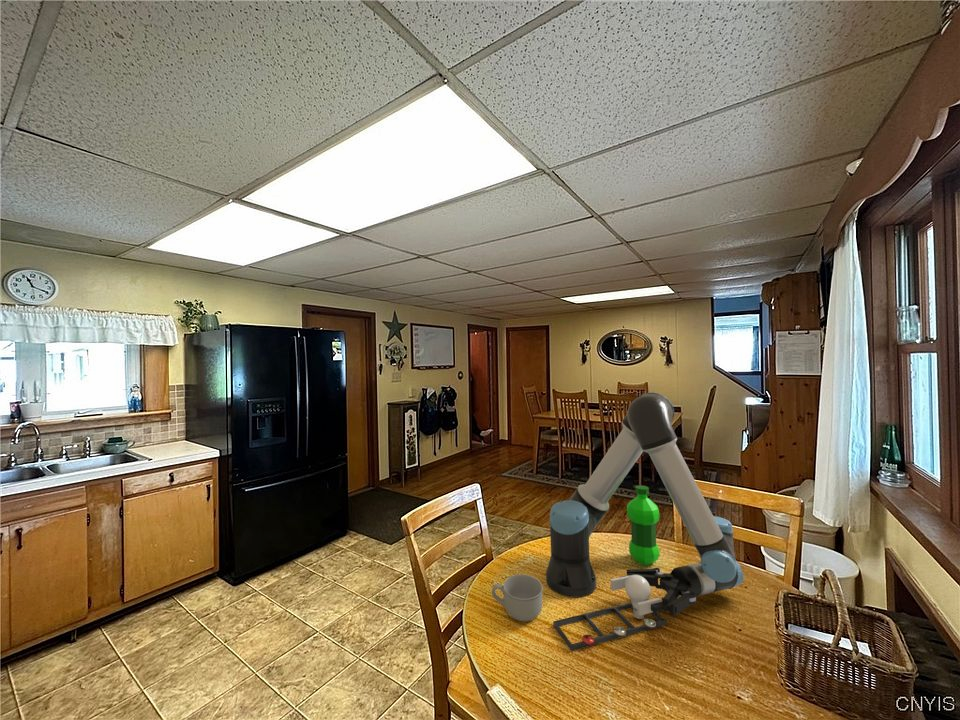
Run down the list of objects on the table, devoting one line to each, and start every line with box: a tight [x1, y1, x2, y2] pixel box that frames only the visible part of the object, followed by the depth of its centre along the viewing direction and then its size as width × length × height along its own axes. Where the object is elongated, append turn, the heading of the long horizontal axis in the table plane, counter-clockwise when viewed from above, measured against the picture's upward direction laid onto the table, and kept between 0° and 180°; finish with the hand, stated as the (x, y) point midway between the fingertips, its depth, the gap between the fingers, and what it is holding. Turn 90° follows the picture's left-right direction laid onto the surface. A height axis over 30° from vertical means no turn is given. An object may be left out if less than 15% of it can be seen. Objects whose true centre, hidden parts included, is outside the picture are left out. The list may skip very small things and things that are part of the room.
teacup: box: [491, 573, 544, 622], centre depth 103 cm, size 14×11×8 cm
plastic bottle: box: [626, 485, 661, 566], centre depth 129 cm, size 10×10×25 cm
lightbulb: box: [624, 575, 652, 620], centre depth 100 cm, size 6×6×11 cm
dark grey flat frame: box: [552, 602, 667, 652], centre depth 97 cm, size 10×28×2 cm, turn 107°
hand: (624, 596), depth 99 cm, fingers open, 10 cm apart
